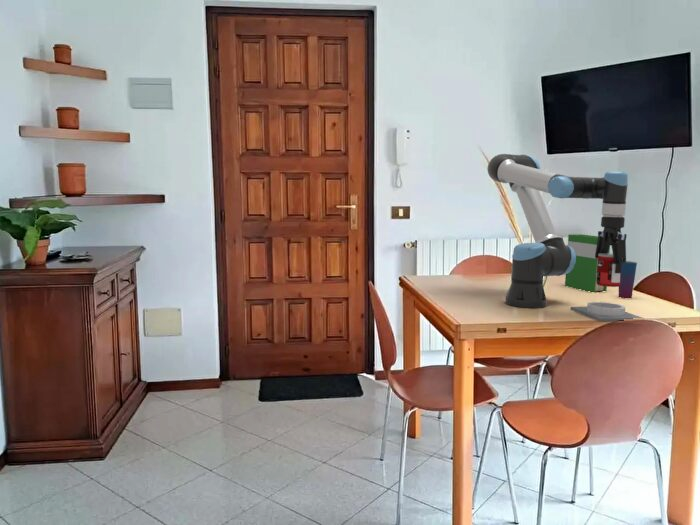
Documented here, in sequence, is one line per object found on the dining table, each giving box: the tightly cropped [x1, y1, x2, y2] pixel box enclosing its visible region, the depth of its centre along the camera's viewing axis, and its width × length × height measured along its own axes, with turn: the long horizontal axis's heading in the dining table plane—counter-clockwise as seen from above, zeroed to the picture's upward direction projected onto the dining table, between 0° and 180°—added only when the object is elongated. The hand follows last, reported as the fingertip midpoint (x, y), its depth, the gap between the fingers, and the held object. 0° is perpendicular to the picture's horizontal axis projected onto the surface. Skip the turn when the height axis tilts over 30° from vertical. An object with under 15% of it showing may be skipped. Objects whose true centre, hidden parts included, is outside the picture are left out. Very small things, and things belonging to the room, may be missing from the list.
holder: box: [569, 301, 643, 322], centre depth 215 cm, size 16×20×4 cm
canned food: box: [596, 252, 622, 288], centre depth 213 cm, size 8×8×11 cm
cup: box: [618, 260, 638, 299], centre depth 251 cm, size 7×7×15 cm
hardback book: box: [564, 233, 611, 293], centre depth 270 cm, size 18×7×24 cm, turn 22°
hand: (608, 280), depth 214 cm, fingers closed on canned food, 8 cm apart
